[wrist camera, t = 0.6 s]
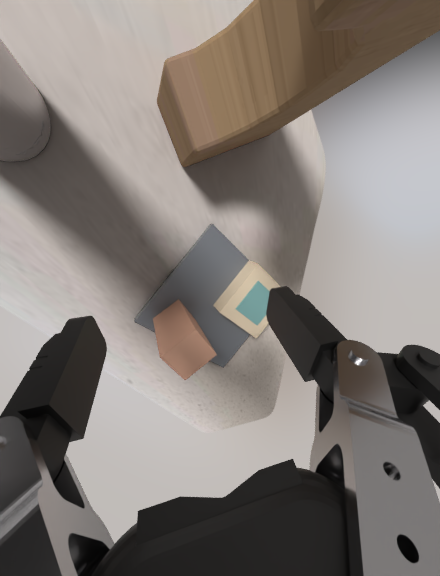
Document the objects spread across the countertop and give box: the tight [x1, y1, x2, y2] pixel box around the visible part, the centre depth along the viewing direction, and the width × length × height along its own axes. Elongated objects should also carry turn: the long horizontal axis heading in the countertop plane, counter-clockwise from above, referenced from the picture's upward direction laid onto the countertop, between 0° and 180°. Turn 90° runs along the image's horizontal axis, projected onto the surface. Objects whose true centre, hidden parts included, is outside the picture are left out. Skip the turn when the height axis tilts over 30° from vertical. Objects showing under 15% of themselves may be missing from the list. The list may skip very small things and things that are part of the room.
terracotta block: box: [153, 299, 217, 380], centre depth 28 cm, size 5×5×10 cm
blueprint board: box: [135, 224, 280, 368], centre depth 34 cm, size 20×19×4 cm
